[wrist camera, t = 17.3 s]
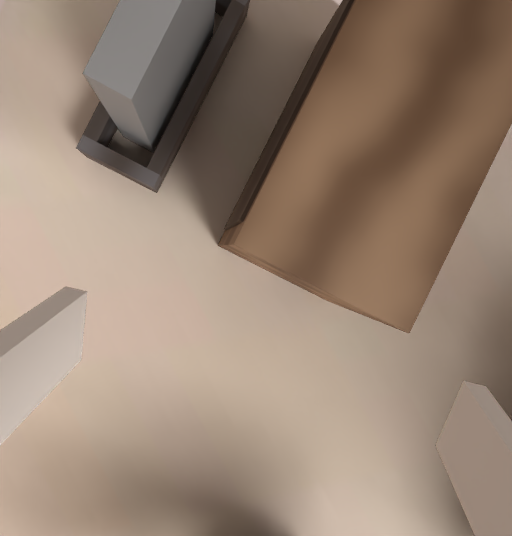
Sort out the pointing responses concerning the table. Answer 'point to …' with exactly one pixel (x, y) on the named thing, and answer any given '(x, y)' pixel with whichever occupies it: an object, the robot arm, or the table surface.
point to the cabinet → (361, 149)
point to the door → (149, 62)
